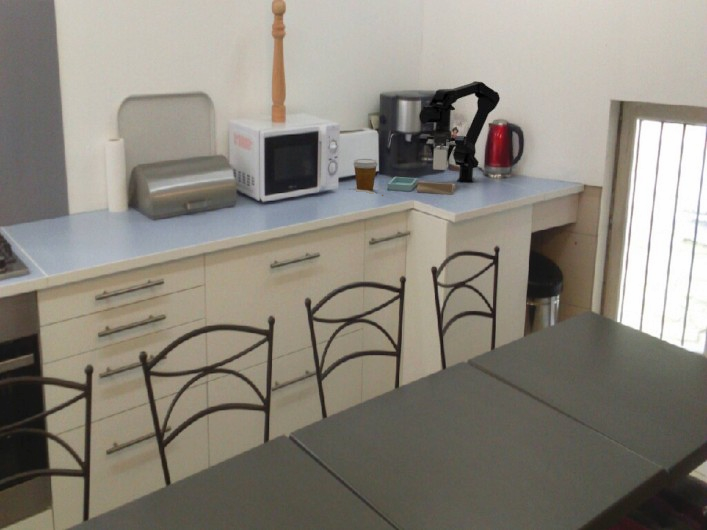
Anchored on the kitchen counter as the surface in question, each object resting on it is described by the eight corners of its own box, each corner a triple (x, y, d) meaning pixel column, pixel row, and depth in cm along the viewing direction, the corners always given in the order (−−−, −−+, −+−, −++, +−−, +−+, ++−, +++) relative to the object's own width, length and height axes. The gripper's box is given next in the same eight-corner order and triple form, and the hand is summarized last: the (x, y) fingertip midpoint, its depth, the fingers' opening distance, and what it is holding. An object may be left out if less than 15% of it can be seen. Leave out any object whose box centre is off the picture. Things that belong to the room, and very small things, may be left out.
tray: (394, 182, 314) (394, 176, 314) (417, 184, 312) (417, 178, 311) (387, 189, 302) (387, 183, 301) (411, 191, 300) (411, 185, 299)
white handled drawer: (436, 165, 314) (437, 142, 311) (448, 165, 313) (449, 142, 310) (432, 169, 306) (434, 145, 303) (445, 170, 305) (446, 146, 302)
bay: (421, 186, 309) (422, 176, 307) (455, 188, 305) (455, 178, 304) (417, 192, 299) (417, 182, 298) (451, 194, 296) (452, 184, 294)
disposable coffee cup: (362, 187, 306) (362, 157, 302) (381, 190, 301) (382, 160, 297) (348, 191, 299) (348, 161, 295) (367, 194, 294) (368, 164, 290)
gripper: (416, 123, 298) (414, 162, 303) (463, 125, 294) (461, 165, 299) (421, 119, 309) (419, 157, 314) (467, 121, 304) (465, 160, 309)
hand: (441, 160), depth 309 cm, fingers closed on white handled drawer, 5 cm apart
